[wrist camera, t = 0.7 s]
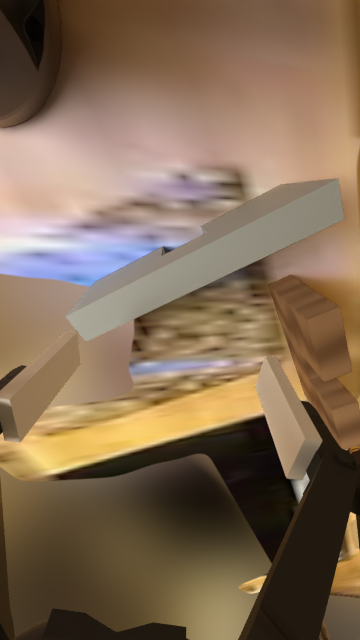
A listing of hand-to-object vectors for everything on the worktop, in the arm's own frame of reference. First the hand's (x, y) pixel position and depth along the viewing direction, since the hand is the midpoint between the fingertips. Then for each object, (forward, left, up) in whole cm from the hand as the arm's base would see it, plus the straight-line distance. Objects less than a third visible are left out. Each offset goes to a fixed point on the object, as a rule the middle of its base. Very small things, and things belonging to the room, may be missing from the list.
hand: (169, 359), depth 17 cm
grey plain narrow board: (-3, +4, -16) cm, 16 cm away
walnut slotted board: (+17, +13, -16) cm, 26 cm away
